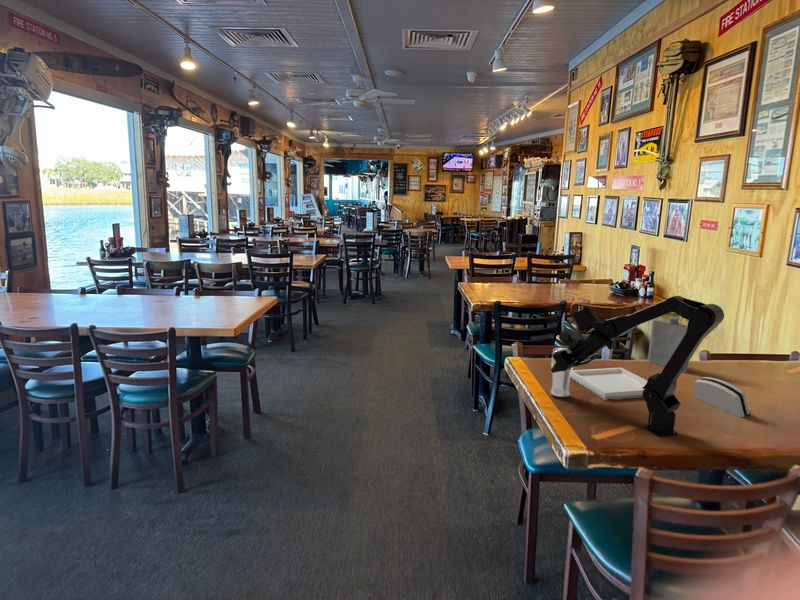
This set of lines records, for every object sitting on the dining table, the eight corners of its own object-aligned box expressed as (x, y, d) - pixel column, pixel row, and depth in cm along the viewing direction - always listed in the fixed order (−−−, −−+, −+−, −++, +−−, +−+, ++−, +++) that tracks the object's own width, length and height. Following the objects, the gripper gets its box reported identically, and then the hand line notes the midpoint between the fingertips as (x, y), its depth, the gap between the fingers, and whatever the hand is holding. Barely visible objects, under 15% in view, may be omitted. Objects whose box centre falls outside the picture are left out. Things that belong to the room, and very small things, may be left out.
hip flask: (645, 361, 208) (652, 313, 204) (652, 359, 210) (658, 312, 206) (683, 373, 194) (690, 322, 190) (689, 371, 196) (697, 321, 192)
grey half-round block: (753, 415, 157) (750, 387, 154) (742, 422, 156) (739, 394, 152) (704, 395, 172) (701, 370, 169) (694, 401, 171) (690, 376, 168)
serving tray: (662, 395, 171) (663, 388, 170) (604, 400, 166) (605, 392, 165) (620, 373, 192) (621, 367, 191) (568, 377, 187) (568, 370, 186)
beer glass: (547, 395, 167) (550, 351, 164) (551, 388, 173) (554, 346, 170) (568, 399, 164) (572, 354, 161) (572, 392, 170) (576, 349, 167)
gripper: (592, 319, 166) (560, 344, 177) (560, 327, 155) (527, 353, 165) (613, 347, 162) (578, 371, 172) (581, 358, 150) (546, 383, 161)
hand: (558, 369), depth 168 cm, fingers closed on beer glass, 7 cm apart
